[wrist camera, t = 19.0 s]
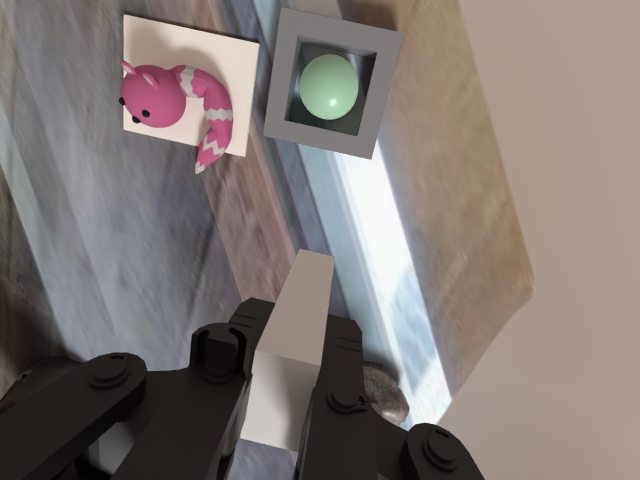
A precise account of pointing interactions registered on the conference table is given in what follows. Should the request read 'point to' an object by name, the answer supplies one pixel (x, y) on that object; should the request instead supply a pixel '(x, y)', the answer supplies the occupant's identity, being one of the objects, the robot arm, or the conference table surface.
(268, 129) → the button housing
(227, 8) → the conference table surface
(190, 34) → the paper sheet
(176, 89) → the toy
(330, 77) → the button
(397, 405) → the figurine
